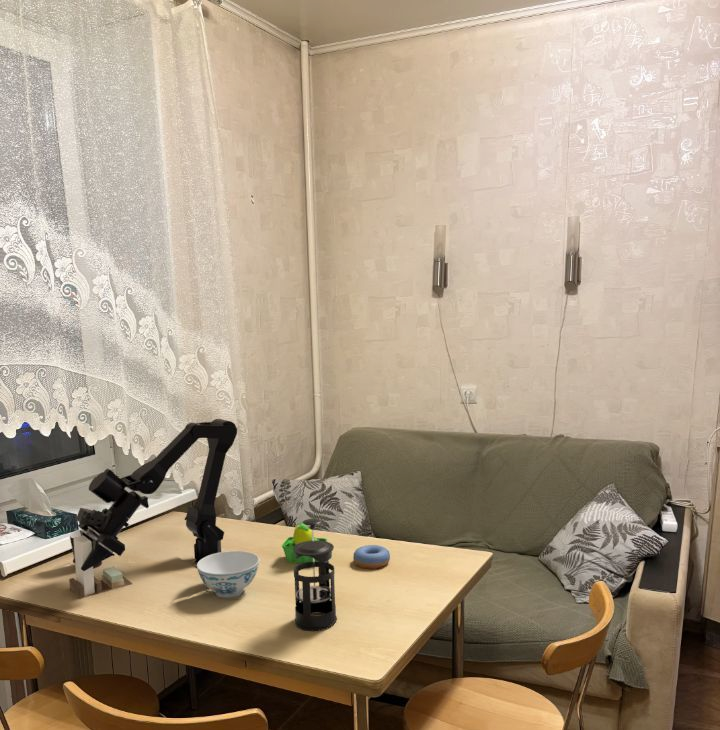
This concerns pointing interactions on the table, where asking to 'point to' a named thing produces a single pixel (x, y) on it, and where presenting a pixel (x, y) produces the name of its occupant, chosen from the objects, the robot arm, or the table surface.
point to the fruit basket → (300, 535)
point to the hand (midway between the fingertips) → (78, 566)
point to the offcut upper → (112, 574)
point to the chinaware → (228, 572)
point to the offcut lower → (113, 584)
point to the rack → (98, 586)
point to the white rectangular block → (81, 553)
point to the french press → (314, 596)
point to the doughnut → (371, 556)
